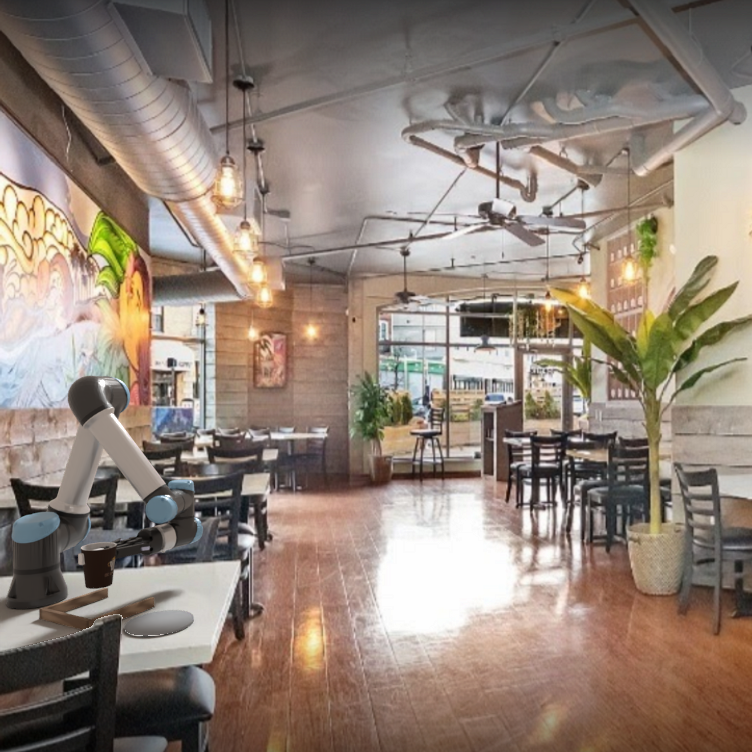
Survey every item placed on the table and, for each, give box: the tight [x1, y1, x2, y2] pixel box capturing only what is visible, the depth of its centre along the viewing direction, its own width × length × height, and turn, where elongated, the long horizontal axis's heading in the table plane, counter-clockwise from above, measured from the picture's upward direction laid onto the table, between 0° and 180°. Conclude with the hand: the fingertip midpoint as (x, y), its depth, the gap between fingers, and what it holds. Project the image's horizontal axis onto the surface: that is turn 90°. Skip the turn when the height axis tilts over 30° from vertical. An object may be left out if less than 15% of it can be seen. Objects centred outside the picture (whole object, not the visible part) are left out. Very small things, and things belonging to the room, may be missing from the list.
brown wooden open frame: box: [38, 587, 156, 631], centre depth 166 cm, size 19×20×2 cm
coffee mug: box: [80, 541, 117, 590], centre depth 167 cm, size 12×9×10 cm
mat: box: [123, 609, 195, 636], centre depth 156 cm, size 16×16×1 cm
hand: (80, 559), depth 162 cm, fingers closed
